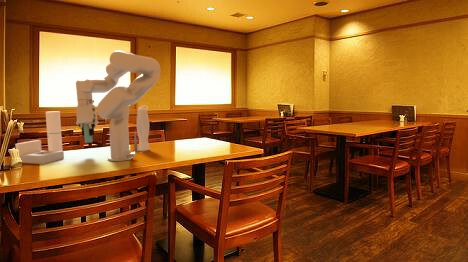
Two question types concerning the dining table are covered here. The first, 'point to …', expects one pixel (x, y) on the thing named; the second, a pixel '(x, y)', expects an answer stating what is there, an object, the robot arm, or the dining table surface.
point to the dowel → (87, 134)
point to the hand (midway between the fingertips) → (88, 135)
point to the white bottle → (142, 130)
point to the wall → (28, 147)
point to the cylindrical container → (54, 131)
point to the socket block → (42, 156)
